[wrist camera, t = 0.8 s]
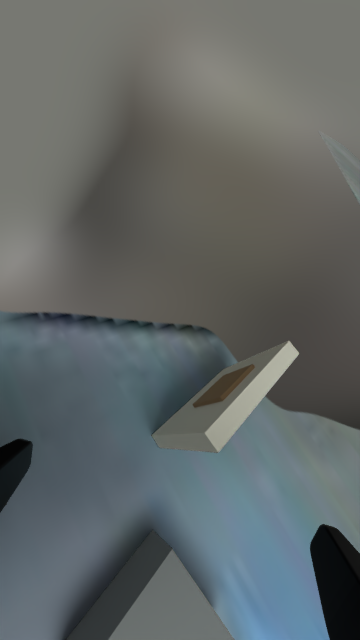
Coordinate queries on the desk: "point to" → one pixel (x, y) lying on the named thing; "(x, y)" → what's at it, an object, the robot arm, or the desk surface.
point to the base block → (151, 602)
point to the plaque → (224, 402)
